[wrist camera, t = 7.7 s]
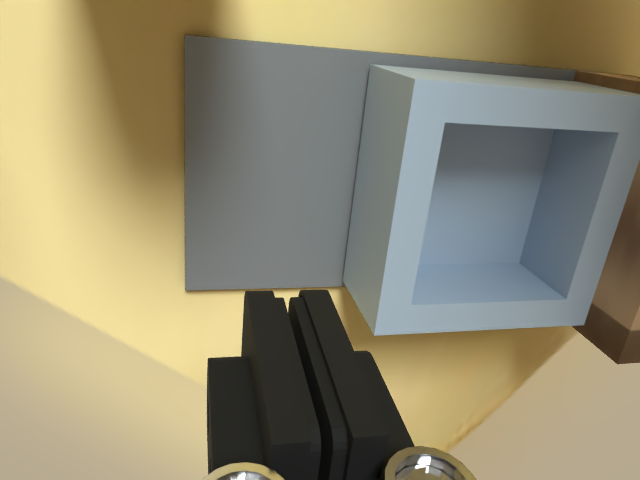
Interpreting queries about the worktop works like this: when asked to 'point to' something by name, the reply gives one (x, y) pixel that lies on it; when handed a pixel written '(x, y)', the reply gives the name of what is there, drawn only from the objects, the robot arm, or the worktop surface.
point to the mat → (281, 156)
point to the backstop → (618, 263)
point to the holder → (485, 199)
